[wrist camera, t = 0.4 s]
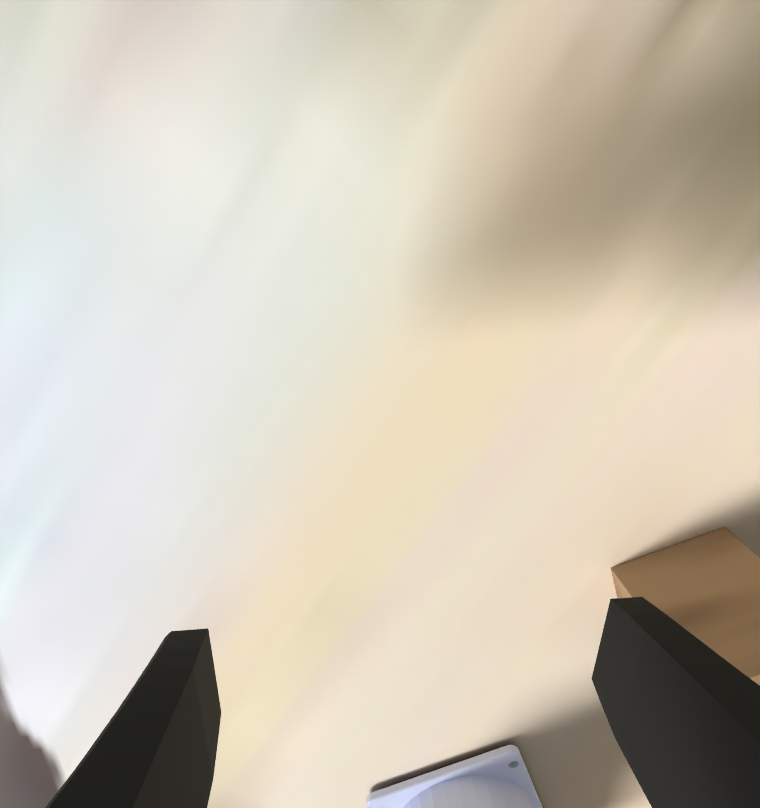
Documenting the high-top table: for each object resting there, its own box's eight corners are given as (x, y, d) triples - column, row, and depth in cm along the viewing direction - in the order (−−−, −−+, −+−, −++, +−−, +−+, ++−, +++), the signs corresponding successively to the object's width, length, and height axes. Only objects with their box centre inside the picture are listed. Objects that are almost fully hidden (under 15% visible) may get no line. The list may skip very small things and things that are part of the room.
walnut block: (732, 608, 24) (852, 734, 19) (627, 644, 25) (717, 780, 19) (723, 526, 22) (855, 641, 17) (610, 567, 23) (704, 694, 17)
